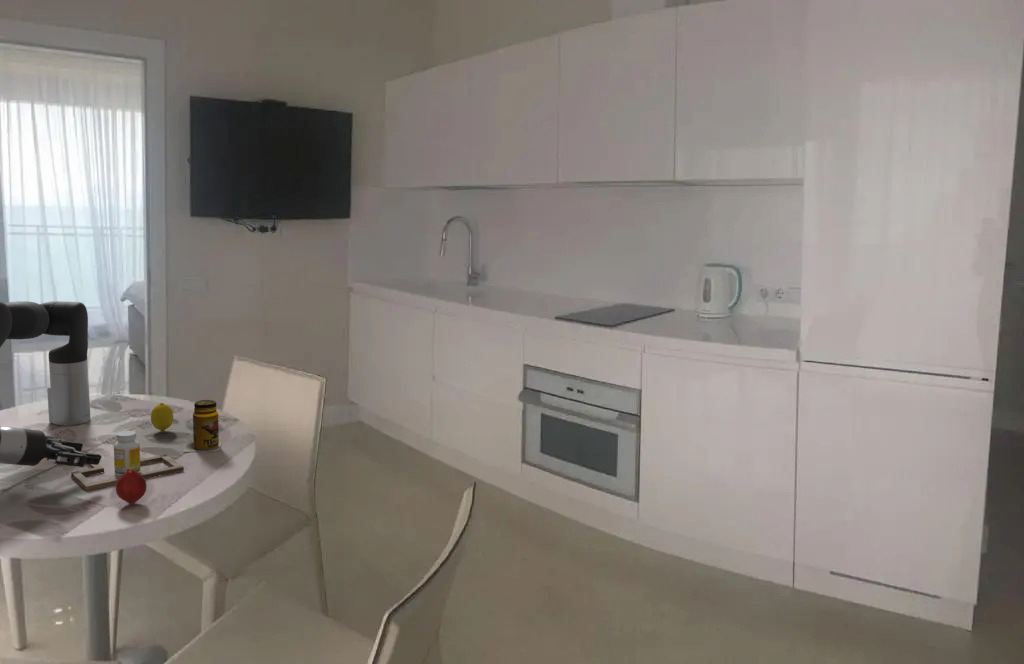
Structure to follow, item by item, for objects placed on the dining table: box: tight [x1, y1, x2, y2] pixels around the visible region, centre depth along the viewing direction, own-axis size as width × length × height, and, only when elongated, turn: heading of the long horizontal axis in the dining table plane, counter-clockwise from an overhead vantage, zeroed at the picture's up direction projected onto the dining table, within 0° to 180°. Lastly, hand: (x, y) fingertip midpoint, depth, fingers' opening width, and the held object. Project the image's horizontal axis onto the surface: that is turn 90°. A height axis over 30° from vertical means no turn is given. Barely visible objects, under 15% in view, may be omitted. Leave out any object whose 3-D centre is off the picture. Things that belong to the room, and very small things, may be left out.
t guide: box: [70, 451, 185, 492], centre depth 191 cm, size 24×21×1 cm
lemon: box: [150, 402, 174, 433], centre depth 217 cm, size 6×6×8 cm
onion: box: [115, 468, 147, 505], centre depth 169 cm, size 6×6×8 cm
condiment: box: [182, 399, 223, 453], centre depth 206 cm, size 7×8×12 cm
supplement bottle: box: [113, 430, 141, 477], centre depth 186 cm, size 5×5×10 cm
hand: (90, 453), depth 181 cm, fingers open, 8 cm apart
